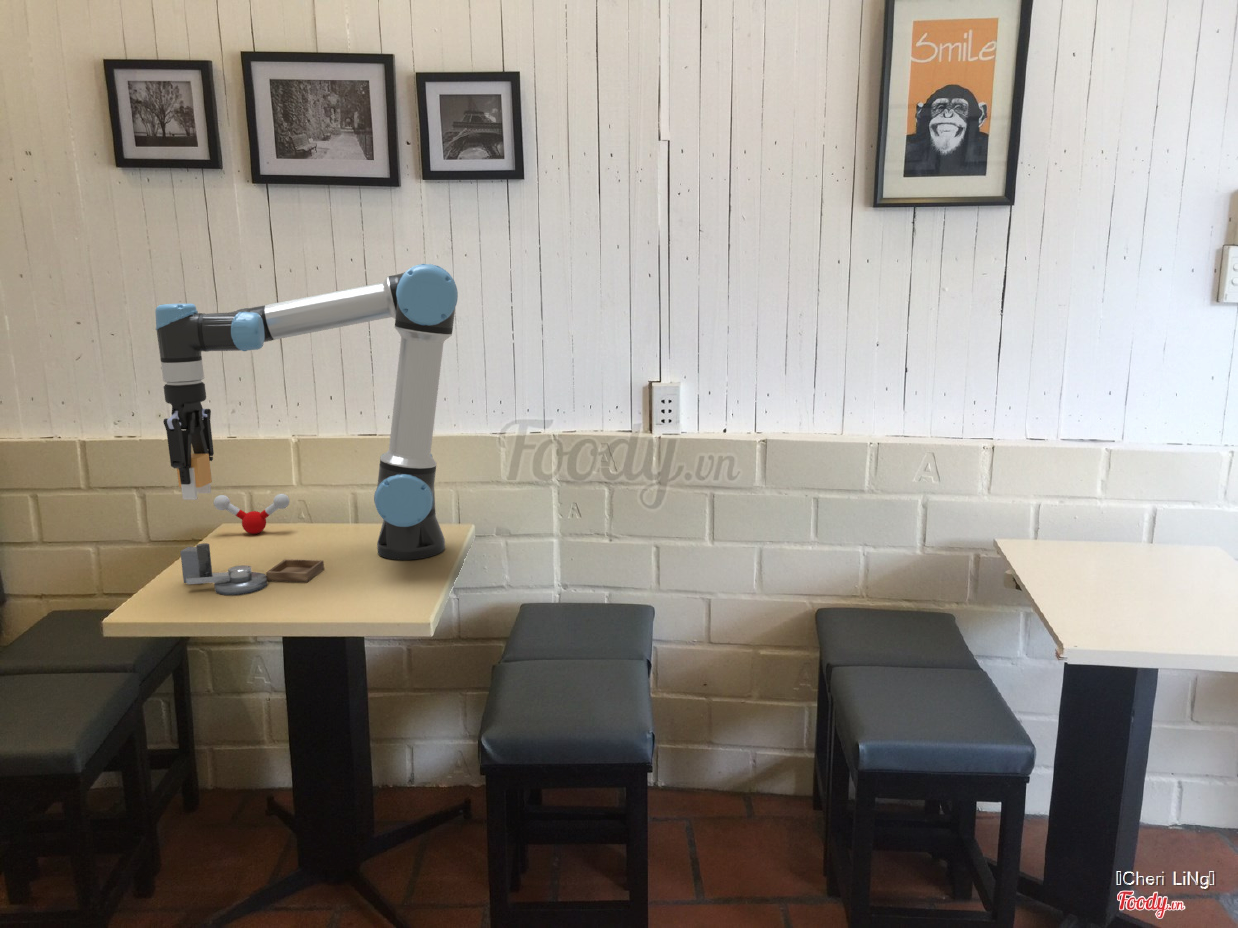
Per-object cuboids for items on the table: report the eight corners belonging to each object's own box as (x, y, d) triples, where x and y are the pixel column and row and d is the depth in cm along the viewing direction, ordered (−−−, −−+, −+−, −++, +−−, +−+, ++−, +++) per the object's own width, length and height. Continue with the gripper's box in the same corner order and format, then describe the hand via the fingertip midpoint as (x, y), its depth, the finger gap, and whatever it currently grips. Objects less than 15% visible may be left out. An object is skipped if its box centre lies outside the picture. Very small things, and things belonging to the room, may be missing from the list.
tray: (324, 569, 202) (323, 560, 202) (307, 582, 194) (306, 573, 194) (285, 568, 203) (284, 559, 203) (266, 581, 195) (266, 572, 194)
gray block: (209, 579, 196) (206, 547, 195) (202, 583, 194) (198, 551, 192) (191, 578, 197) (188, 546, 195) (183, 583, 194) (180, 551, 192)
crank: (253, 575, 194) (250, 538, 192) (250, 582, 190) (246, 545, 188) (190, 580, 191) (186, 543, 190) (185, 587, 187) (181, 549, 185)
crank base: (276, 579, 196) (275, 572, 196) (253, 596, 186) (252, 588, 186) (228, 578, 197) (227, 570, 197) (203, 594, 187) (202, 586, 187)
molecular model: (214, 539, 225) (210, 499, 223) (219, 532, 230) (215, 493, 228) (291, 534, 228) (287, 494, 226) (293, 528, 234) (290, 489, 232)
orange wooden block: (211, 482, 193) (208, 453, 192) (200, 487, 189) (196, 458, 187) (191, 482, 194) (187, 453, 192) (179, 487, 189) (175, 458, 188)
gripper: (190, 376, 196) (202, 485, 201) (139, 388, 179) (154, 506, 184) (224, 376, 195) (236, 485, 200) (177, 388, 178) (191, 507, 183)
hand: (197, 495), depth 192 cm, fingers closed on orange wooden block, 4 cm apart
